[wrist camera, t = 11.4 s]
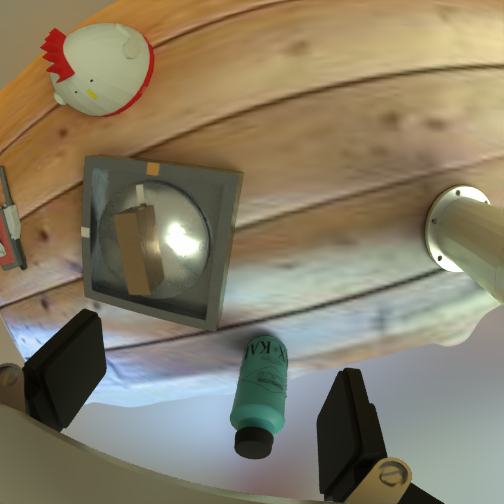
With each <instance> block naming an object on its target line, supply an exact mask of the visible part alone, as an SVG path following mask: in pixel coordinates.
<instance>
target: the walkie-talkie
mask: <svg viewBox="0 0 504 504" xmlns="http://www.w3.org/2000/svg"><path fill="white" fill-rule="evenodd" d="M0 175H1V180H2V185H3V190H4V194H5V199H6V204H5V205H4V208H2V207H1V206H0V263H1V266H2V268H3V270H4V271H7V270H10V269H13V268H16V267H18V266H20V268H21V270H26V268H27V267H26V262H25V261H26V258H25V255H24V252H23V249H22V245H21V242H20V239H19V238H20V232H21V223H20V219H19V216H18V212H17V206H16V205H13V204H12V200H11V198H10V194H9V190H8V185H7V181H6V179H5V175H4V170H3V166H0ZM22 264H23V265H22Z"/></svg>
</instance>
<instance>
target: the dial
mask: <svg viewBox="0 0 504 504" xmlns="http://www.w3.org/2000/svg"><path fill="white" fill-rule="evenodd" d="M98 234H99V245H100V249H101V253H102V256H103V258H104V261H105V263H106V265H107V267H108V268H109V270H110V271H111V273H112V274H113V275H114V276H115V278H116V279H117V280H118V281H119V282H120V283H121V284H123V285H124V286H125V287H126V288H128V291H129V295H142V296H145V297H149V298H155V299H165V298H171V297H174V296H177V295H180V294H181V293H183V292H185V291H186V290H188V289H189V288H190V287H191V286H193V285H194V284H195V282H196V281H197V280H198V278H199V277H200V275H201V274H202V272H203V270H204V268H205V266H206V263H207V260H208V255H209V236H208V230H207V227H206V224H205V221H204V219H203V217H202V214H201V213H200V211H199V209H198V208H197V207H196V205H195V204H194V203H193V201H192V200H191V199H190V198H189V197H188V196H187V195H185V194H184V193H183V192H181V191H180V190H178V189H177V188H175V187H173V186H171V185H168V184H166V183H162V182H157V181H143V182H138V183H134V184H131V185H128V186H126V187H124V188H122V189H121V190H119V191H118V192H117V193H115V194H114V195H113V196H112V198H111V199H110V200H109V201H108V203H107V204H106V206H105V208H104V210H103V212H102V215H101V218H100V223H99V231H98Z"/></svg>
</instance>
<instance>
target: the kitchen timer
mask: <svg viewBox="0 0 504 504" xmlns="http://www.w3.org/2000/svg"><path fill="white" fill-rule="evenodd" d="M45 41H46V43H45V44H44V45H42V46H41V47H40V48H41V49H43V50H45V51H47V53H46V54H45V55H44V56H43V58H44V59H46V60H48V61H50V67H49V68H48V69H47V70H46V71H48V72H50V77H51V81H52V83H53V86H54V88H55V93H54V98H55V100H56V101H57V102H58V103H59V104H61V105H66V104H67V103H68V104H69V105H70V106H71V107H73V108H74V109H76V110H78V111H80V112H83V113H85V114H87V115H91V116H105V117H108V116H111V115H115V114H119V113H120V112H122V111H124V110H125V109H127V108H129V107H130V106H131V105H132V104H133V103H134V102H135V101H137V100H138V99H139V98H140V97H141V95H142V93H143V92H144V90H145V89H146V87H147V86H148V84H149V81H150V78H151V76H152V73H153V67H154V54H153V49H152V46H151V44H150V43H149V41H148V39H147V38H146V37H145V36H143V35H142V34H141V33H139V32H138V31H136V30H135V29H133V28H131V27H128V26H124V25H122V24H119V23H116V24H112V23H100V24H93V25H88V26H85V27H82V28H80V29H78V30H76V31H74V32H72V33H70V34H69V35H68V36H67V37H66V36H65V35H64V34H62V33H61V32H60V31H59V30H57V29H56V28H54V29H53V30H52V31H51V32H50V35H49V36H48V37H47V38H45Z"/></svg>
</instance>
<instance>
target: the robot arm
mask: <svg viewBox="0 0 504 504" xmlns="http://www.w3.org/2000/svg"><path fill="white" fill-rule="evenodd" d="M432 219H433V221H432ZM425 240H426V246H427V249H428V252H429V254H430V255H431V257H432V259H433V260H434V261H435V262H436V263H437V264H438V265H439V266H440V267H442V268H443V269H445V270H447V271H451V272H462V271H464V272H465V273H466V274H467V275H469V276H470V277H471V278H472V279H473V280H475V281H476V282H477V283H478V284H479V285H481V286H482V287H483V288H484V289H485V290H486V291H488V292H489V293H490V294H491V295H492V296H493V297H494V298H495V299H497V300H498V301H499V302H500V303H501V304H502V305H504V209H501V208H498V207H496V206H493V205H491V204H490V202H489V200H488V199H487V197H486V196H485V195H484V194H483V193H482V192H481V191H480V190H478V189H476V188H474V187H471V186H466V185H458V186H454V187H451V188H449V189H447V190H446V191H444V192H443V193H442V194H441V195H440V196H439V197H438V198H437V199H436V201H435V202H434V203H433V205H432V207H431V209H430V211H429V214H428V217H427V220H426V226H425ZM24 365H25V366H24V367H23V368H22V369H21V368H20V367H19V366H18V365H16V364H13V363H4V364H1V365H0V504H444V503H443V502H441V501H439V500H438V499H436V498H435V497H433V496H431V495H430V494H428V493H427V492H425V491H423V490H422V489H420V488H419V487H417V486H416V485H414V484H413V483H411V480H412V472H411V469H410V468H409V466H408V465H407V464H406V463H405V462H403V461H402V460H400V459H397V458H391V457H390V458H388V457H387V452H386V449H385V444H384V440H383V436H382V432H381V428H380V424H379V420H378V416H377V412H376V408H375V406H374V405H373V404H372V403H369V400H368V396H367V392H366V389H365V385H364V381H363V377H362V374H361V371H360V369H353V368H345V369H344V370H343V371H339V372H338V374H337V376H336V378H335V381H334V383H333V385H332V387H331V390H330V392H329V394H328V396H327V399H326V401H325V403H324V405H323V407H322V409H321V411H320V413H319V415H318V418H317V441H318V462H319V490H320V493H321V494H324V501H313V500H299V499H288V498H278V497H270V496H262V495H255V494H248V493H242V492H236V491H231V490H225V489H220V488H216V487H211V486H206V485H202V484H198V483H193V482H190V481H186V480H182V479H178V478H175V477H171V476H168V475H164V474H161V473H158V472H155V471H152V470H149V469H145V468H143V467H140V466H137V465H134V464H131V463H129V462H126V461H123V460H121V459H118V458H115V457H113V456H110V455H108V454H105V453H103V452H100V451H98V450H96V449H94V448H91V447H89V446H87V445H85V444H82V443H80V442H78V441H76V440H74V439H72V438H70V437H68V436H66V435H64V434H62V433H60V432H61V431H62V429H63V428H67V427H68V426H69V424H70V423H71V422H72V420H73V419H74V417H75V416H76V414H77V413H78V411H79V410H80V409H81V407H82V406H83V404H84V403H85V402H86V400H87V399H88V397H89V396H90V395H91V393H92V392H93V390H94V389H95V388H96V386H97V385H98V384H99V382H100V381H101V379H102V378H103V377H104V375H105V373H106V369H107V366H106V359H105V351H104V343H103V334H102V324H101V318H100V317H98V314H97V313H96V312H93V311H90V310H87V309H83V310H81V311H80V312H79V313H78V314H77V315H76V316H75V317H73V318H72V319H71V320H70V321H69V322H68V323H67V324H66V325H65V326H64V327H62V328H61V329H60V330H59V331H58V332H57V333H56V334H55V335H54V336H53V337H52V338H51V339H49V340H48V341H47V342H46V343H45V344H44V345H43V346H42V347H41V348H40V349H39V350H38V351H37V352H36V353H35V354H34V355H33V356H32V357H31V358H30V359H29V360H28V361H26V362H25V364H24ZM326 501H333V502H326Z"/></svg>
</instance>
